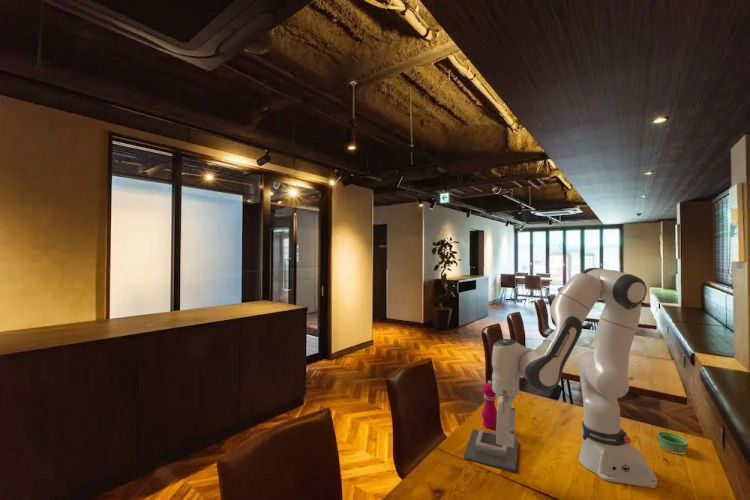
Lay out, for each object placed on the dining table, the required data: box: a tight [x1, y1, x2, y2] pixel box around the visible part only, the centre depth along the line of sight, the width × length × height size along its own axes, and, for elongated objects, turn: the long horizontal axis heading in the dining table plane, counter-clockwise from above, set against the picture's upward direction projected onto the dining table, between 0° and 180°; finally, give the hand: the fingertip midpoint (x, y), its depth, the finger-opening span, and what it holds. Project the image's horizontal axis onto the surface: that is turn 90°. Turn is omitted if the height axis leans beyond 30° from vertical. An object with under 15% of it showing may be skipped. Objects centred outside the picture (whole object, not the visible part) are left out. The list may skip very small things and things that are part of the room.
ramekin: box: [657, 431, 689, 453], centre depth 129 cm, size 9×9×4 cm
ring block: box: [463, 428, 519, 473], centre depth 129 cm, size 18×20×4 cm
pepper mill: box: [481, 380, 497, 430], centre depth 147 cm, size 7×7×20 cm
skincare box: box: [495, 406, 516, 448], centre depth 115 cm, size 6×4×12 cm
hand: (505, 426), depth 115 cm, fingers closed on skincare box, 4 cm apart
